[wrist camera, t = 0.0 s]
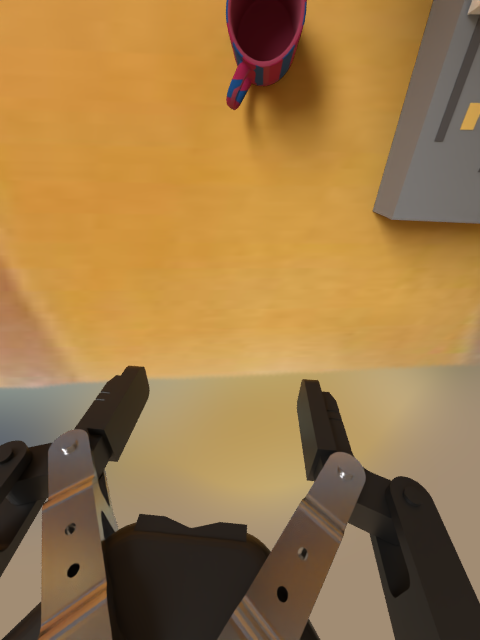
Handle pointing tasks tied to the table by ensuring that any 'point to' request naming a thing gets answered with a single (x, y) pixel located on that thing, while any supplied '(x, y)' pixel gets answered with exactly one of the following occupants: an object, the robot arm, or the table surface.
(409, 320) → the table surface
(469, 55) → the console
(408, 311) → the table surface
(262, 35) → the mug
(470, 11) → the slider
